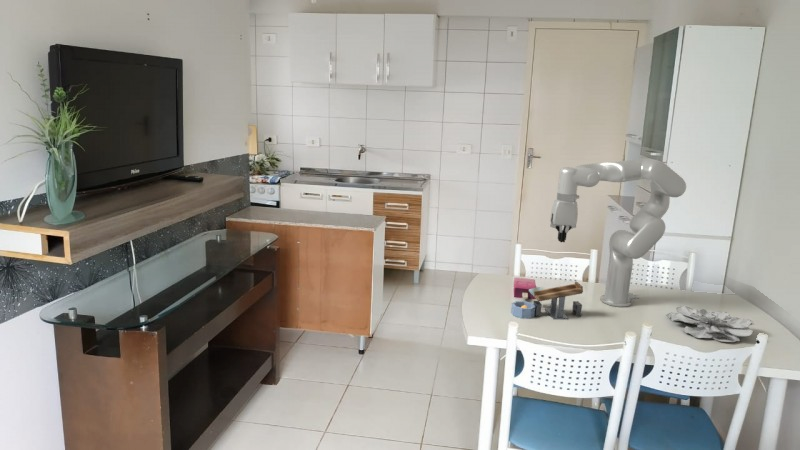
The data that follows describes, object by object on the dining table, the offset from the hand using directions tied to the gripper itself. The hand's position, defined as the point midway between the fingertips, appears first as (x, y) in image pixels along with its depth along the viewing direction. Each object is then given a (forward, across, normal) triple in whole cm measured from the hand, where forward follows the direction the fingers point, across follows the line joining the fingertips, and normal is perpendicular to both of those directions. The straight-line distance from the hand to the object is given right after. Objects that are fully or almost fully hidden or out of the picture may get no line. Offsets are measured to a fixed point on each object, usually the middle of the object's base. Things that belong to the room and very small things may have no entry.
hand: (561, 241), depth 239 cm
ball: (+25, +17, +13) cm, 33 cm away
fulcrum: (+27, +4, +13) cm, 30 cm away
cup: (+27, +18, +13) cm, 35 cm away
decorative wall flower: (+28, -53, +26) cm, 65 cm away
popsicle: (+28, +10, -10) cm, 31 cm away
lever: (+19, +4, +9) cm, 22 cm away
